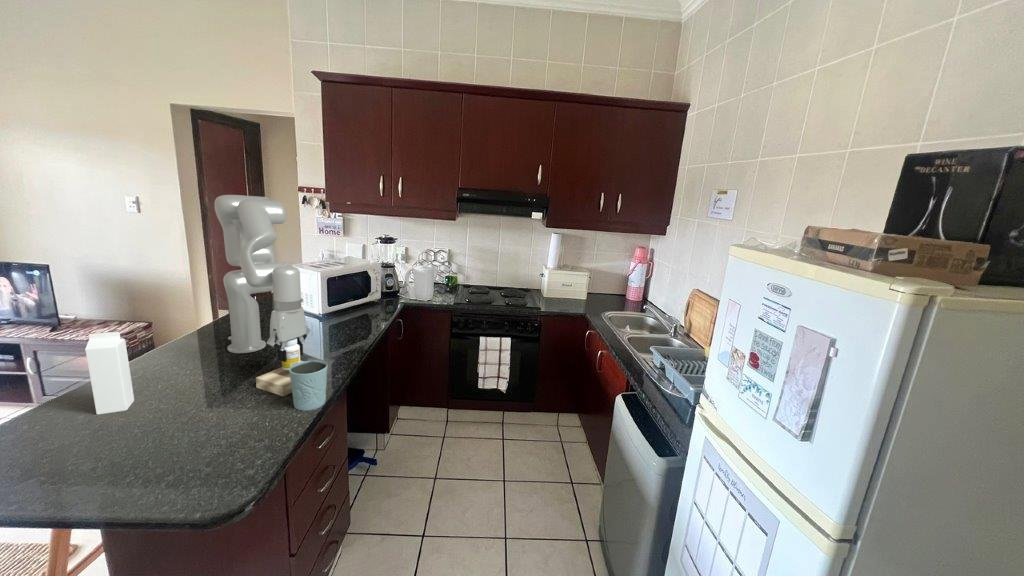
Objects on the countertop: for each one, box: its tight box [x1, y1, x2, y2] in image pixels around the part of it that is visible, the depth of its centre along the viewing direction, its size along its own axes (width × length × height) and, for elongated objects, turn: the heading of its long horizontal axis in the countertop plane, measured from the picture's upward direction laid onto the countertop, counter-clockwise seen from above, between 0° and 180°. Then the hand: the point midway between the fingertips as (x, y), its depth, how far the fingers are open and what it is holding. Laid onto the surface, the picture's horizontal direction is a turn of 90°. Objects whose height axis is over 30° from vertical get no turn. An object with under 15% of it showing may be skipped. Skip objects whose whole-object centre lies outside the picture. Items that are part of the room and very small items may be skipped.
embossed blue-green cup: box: [289, 359, 329, 412], centre depth 114 cm, size 10×10×12 cm
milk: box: [84, 331, 135, 415], centre depth 103 cm, size 6×6×22 cm
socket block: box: [255, 360, 305, 397], centre depth 126 cm, size 12×16×4 cm
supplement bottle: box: [281, 338, 302, 370], centre depth 124 cm, size 5×5×10 cm
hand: (290, 357), depth 125 cm, fingers closed on supplement bottle, 5 cm apart
